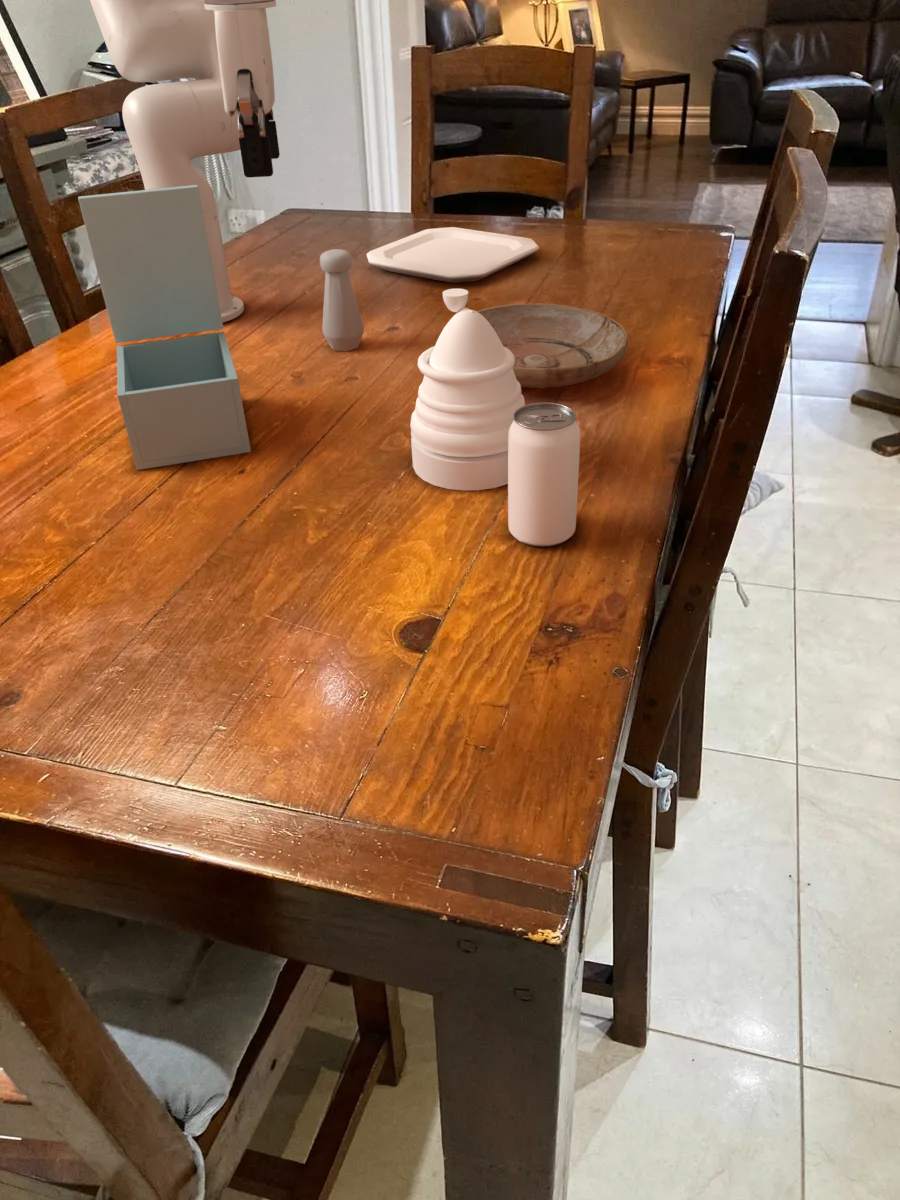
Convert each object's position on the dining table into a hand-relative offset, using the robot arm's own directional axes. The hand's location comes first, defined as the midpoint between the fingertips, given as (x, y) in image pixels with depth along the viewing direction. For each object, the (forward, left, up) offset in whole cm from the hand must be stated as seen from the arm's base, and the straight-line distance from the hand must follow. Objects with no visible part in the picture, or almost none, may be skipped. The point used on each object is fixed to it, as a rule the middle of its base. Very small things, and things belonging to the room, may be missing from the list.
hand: (262, 167), depth 108 cm
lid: (+6, -14, -8) cm, 17 cm away
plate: (-42, +35, -26) cm, 60 cm away
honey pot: (+31, +15, -26) cm, 43 cm away
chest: (+12, -14, -26) cm, 32 cm away
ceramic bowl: (+9, +31, -26) cm, 41 cm away
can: (+47, +17, -26) cm, 57 cm away
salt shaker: (-9, +9, -26) cm, 29 cm away
